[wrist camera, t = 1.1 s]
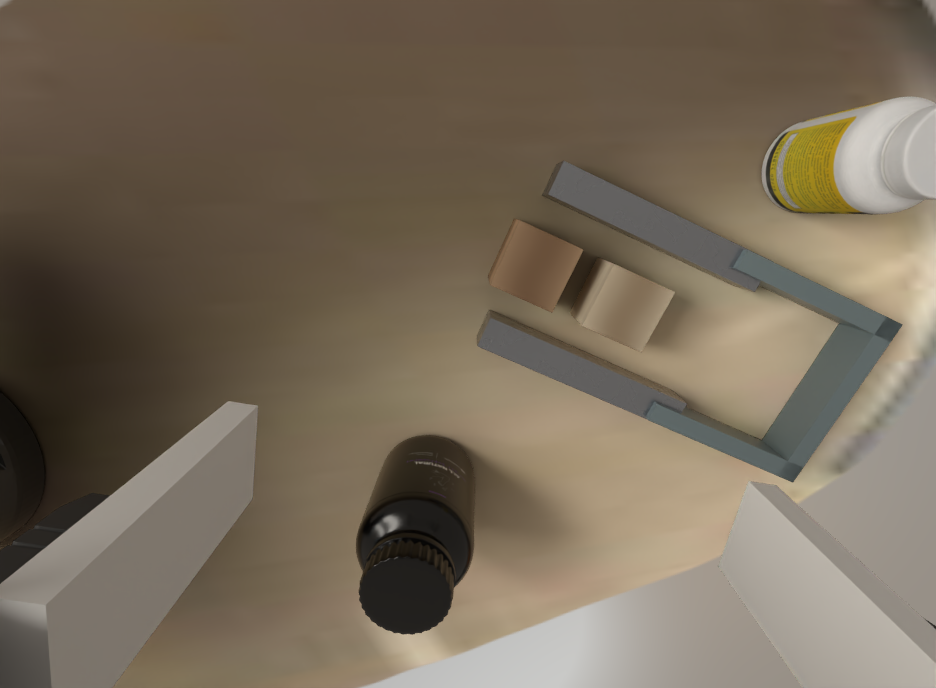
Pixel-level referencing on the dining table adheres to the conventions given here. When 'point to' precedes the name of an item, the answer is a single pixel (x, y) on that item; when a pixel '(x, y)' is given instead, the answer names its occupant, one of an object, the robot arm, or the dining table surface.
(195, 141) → the dining table surface
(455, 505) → the supplement bottle
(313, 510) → the dining table surface
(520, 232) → the brown cube
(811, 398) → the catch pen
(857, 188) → the supplement bottle
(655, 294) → the beige cube
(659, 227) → the slot rails
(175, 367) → the dining table surface
